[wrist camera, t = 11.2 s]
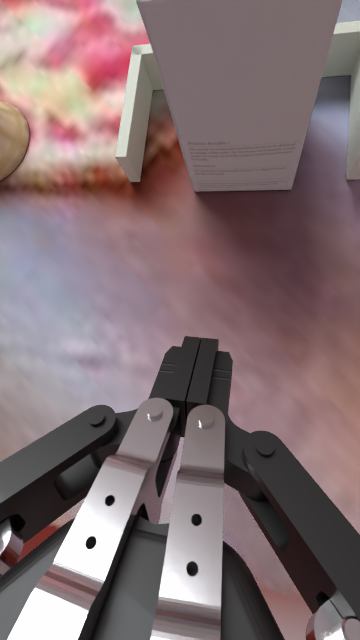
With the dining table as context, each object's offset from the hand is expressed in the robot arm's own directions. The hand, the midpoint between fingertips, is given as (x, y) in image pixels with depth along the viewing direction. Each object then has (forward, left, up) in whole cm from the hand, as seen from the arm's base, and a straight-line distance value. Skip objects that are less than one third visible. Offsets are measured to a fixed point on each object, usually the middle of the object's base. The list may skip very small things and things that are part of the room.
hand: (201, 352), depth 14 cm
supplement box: (+6, +15, -7) cm, 18 cm away
